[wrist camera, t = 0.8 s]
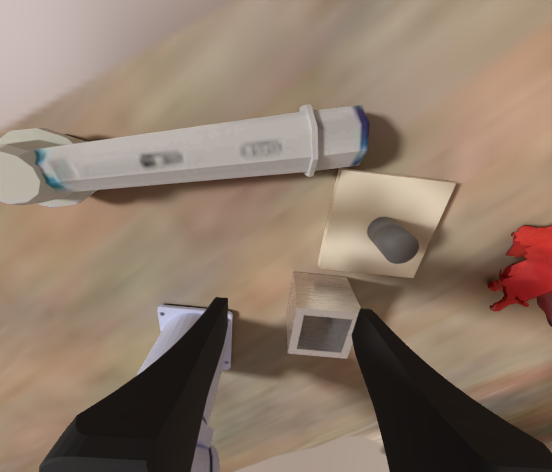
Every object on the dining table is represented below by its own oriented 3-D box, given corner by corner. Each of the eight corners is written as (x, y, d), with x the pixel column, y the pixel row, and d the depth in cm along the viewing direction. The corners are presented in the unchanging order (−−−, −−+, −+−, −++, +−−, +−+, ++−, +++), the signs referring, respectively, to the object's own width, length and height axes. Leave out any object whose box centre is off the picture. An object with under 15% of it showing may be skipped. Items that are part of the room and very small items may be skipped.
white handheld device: (367, 180, 15) (-44, 233, 13) (332, 166, 21) (47, 201, 19) (374, 86, 13) (-120, 135, 11) (333, 101, 19) (10, 134, 17)
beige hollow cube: (334, 317, 25) (347, 358, 20) (286, 312, 25) (287, 353, 20) (346, 277, 23) (363, 313, 18) (293, 271, 22) (296, 307, 18)
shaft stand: (407, 272, 22) (436, 304, 18) (317, 262, 22) (326, 293, 18) (447, 180, 18) (495, 195, 14) (338, 167, 18) (355, 179, 14)
